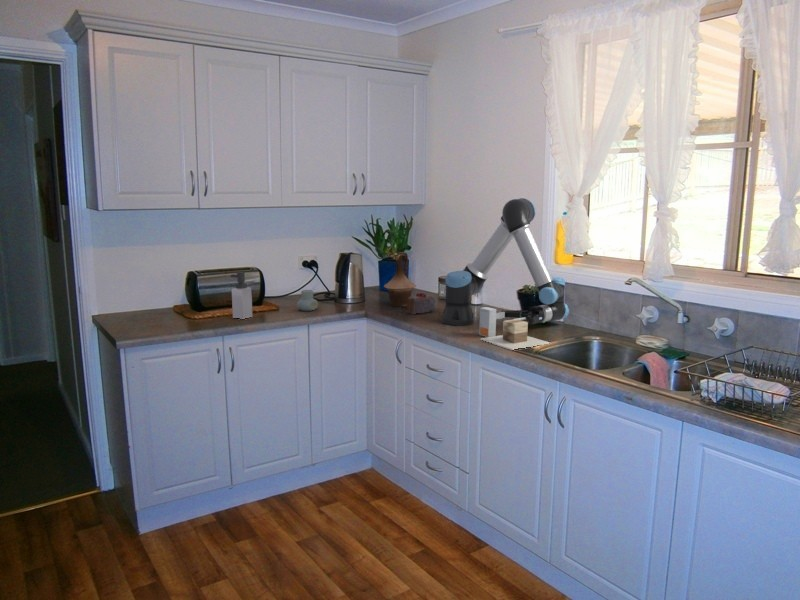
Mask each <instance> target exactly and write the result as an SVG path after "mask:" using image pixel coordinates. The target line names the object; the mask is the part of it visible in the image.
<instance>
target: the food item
mask: <svg viewBox="0 0 800 600" xmlns="http://www.w3.org/2000/svg"><path fill="white" fill-rule="evenodd" d="M435 309H436V299H435V298H434V297H433V296H432V295H431V294H425V293H423V292H421V293H416V294H415V295H414V296H411V297H409V298H408V301H407V306H406V313H408V314H410V313H412V314H411V315H416V313H419V314H426V313H430V312H429V311H431V312H433V311H434V310H435ZM425 312H426V313H425Z"/></svg>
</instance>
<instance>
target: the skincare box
mask: <svg viewBox="0 0 800 600" xmlns="http://www.w3.org/2000/svg"><path fill="white" fill-rule="evenodd" d="M496 313H497V308H492V307H488V306H485V307H484V306H483V307H480V308H479V328H478V329H479V332H478V333H479V336H482V337H484V338H487V337H493V336H497V335H496V333H497V331H496V330H497V319H496Z"/></svg>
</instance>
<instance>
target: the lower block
mask: <svg viewBox="0 0 800 600" xmlns="http://www.w3.org/2000/svg"><path fill="white" fill-rule="evenodd" d="M502 335H503V340H505V341H508V342H511V343H520V342H526V341H527V336H528V331H527V332H523V333H517V334H513V333H510V332H507V331H503V330H502Z"/></svg>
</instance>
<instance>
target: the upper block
mask: <svg viewBox="0 0 800 600" xmlns="http://www.w3.org/2000/svg"><path fill="white" fill-rule="evenodd" d="M528 326H529V324H528V322H525V321H522V320H518V319H517V318H512V319H508V320H507V319H506V320H503V321H502V332H503V331H507V332H510V333H513V334H517V333H523V332H527V333H528V329H529V328H528Z"/></svg>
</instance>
